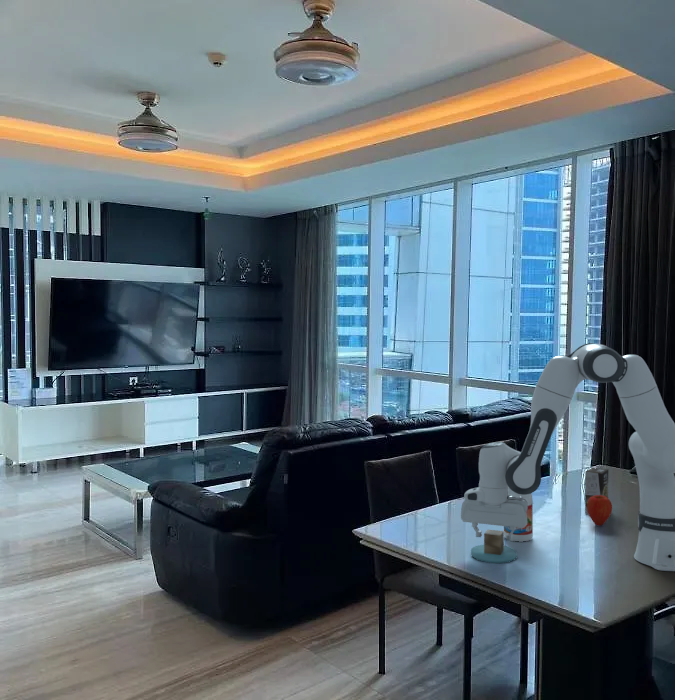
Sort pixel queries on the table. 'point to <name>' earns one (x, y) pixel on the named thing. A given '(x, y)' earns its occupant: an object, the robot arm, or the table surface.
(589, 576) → the table surface
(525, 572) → the table surface
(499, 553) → the walnut block
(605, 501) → the strawberry
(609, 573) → the table surface
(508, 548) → the dish
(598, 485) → the coffee box
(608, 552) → the table surface
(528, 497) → the fruit juice
